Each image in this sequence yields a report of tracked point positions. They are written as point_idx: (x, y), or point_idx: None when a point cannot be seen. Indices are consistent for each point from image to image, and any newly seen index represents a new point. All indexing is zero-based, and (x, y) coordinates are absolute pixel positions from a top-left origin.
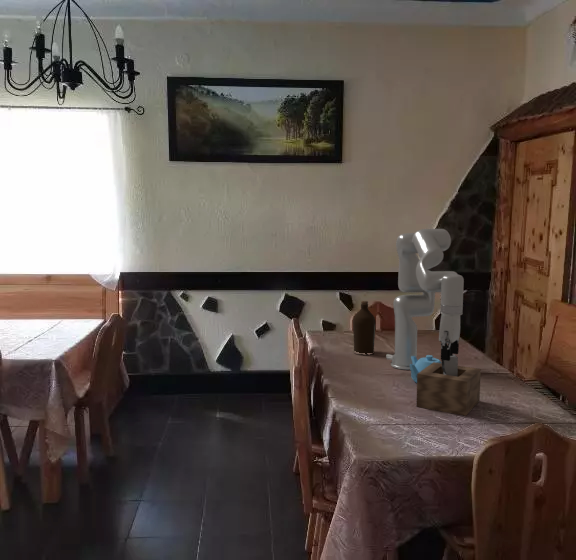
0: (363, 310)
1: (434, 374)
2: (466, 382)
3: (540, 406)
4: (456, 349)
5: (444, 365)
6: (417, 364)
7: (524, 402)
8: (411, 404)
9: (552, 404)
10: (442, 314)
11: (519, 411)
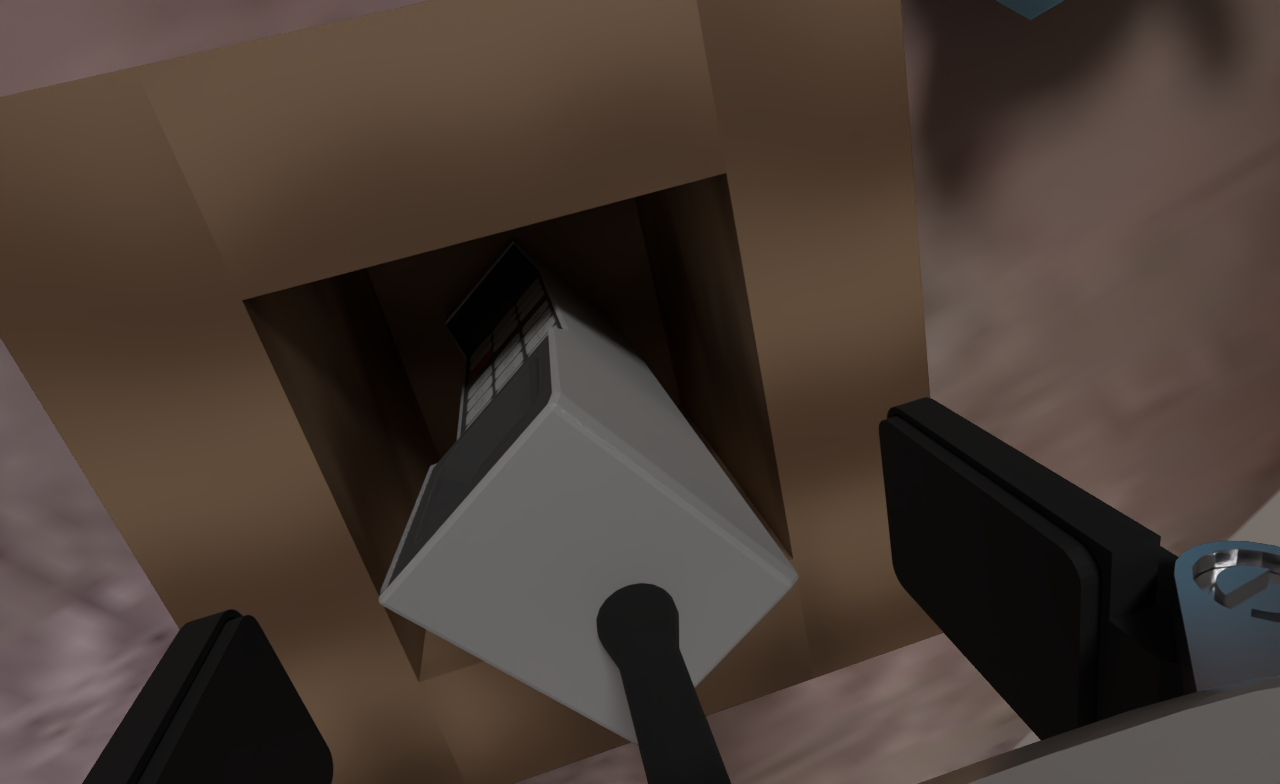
0: None
1: (189, 393)
2: None
3: (925, 732)
4: (959, 624)
5: (510, 427)
6: None
7: (943, 647)
8: (192, 44)
9: (999, 747)
10: None
11: (757, 718)
